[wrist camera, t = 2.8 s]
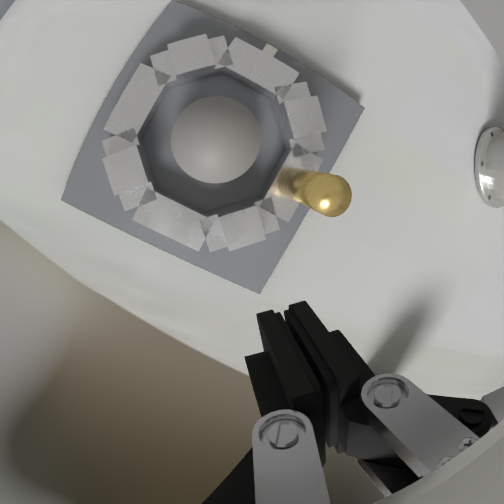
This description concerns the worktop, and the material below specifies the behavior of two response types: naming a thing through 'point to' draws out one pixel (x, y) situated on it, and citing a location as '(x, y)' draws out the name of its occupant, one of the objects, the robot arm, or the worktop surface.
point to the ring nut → (279, 183)
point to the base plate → (179, 181)
